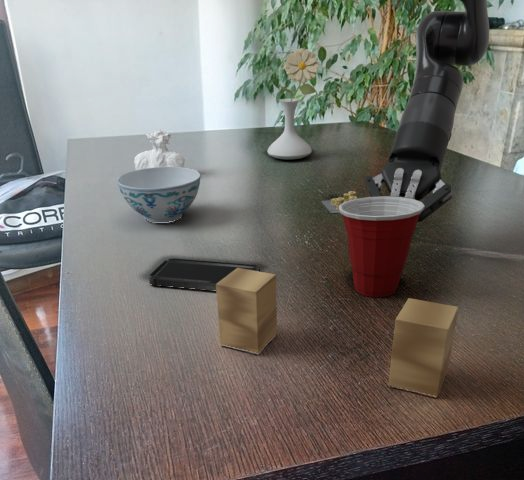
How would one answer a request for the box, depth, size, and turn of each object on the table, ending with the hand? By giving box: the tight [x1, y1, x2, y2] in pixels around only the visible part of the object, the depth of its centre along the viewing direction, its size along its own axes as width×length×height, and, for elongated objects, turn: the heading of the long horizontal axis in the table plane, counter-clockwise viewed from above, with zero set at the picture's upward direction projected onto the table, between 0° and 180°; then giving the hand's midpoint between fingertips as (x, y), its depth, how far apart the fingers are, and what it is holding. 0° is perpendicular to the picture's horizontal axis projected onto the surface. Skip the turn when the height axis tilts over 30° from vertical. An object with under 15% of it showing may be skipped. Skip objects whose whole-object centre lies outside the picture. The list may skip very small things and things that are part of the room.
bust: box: [133, 129, 186, 171], centre depth 131 cm, size 12×8×11 cm
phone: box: [148, 257, 261, 290], centre depth 82 cm, size 8×1×15 cm
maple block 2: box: [388, 297, 459, 397], centre depth 57 cm, size 5×5×8 cm
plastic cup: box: [339, 195, 425, 298], centre depth 76 cm, size 11×11×12 cm
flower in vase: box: [266, 47, 320, 160], centre depth 140 cm, size 13×11×25 cm
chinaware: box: [116, 167, 201, 222], centre depth 105 cm, size 15×15×8 cm
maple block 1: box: [215, 268, 278, 353], centre depth 65 cm, size 5×5×8 cm
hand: (390, 243), depth 80 cm, fingers closed
